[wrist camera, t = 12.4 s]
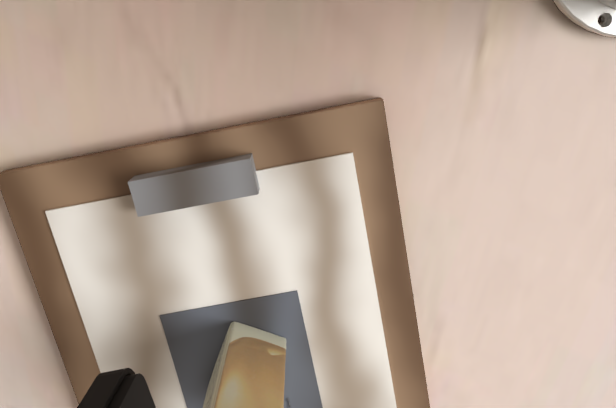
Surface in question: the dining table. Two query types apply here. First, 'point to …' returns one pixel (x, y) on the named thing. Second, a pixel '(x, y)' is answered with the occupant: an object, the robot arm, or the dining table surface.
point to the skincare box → (248, 370)
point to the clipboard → (230, 258)
